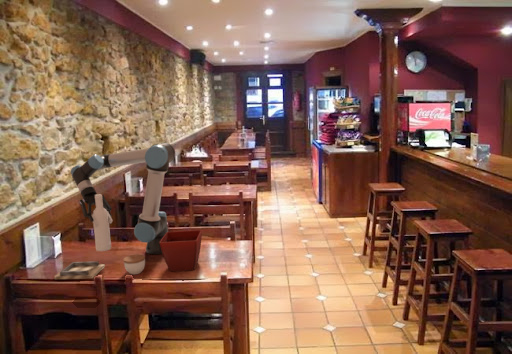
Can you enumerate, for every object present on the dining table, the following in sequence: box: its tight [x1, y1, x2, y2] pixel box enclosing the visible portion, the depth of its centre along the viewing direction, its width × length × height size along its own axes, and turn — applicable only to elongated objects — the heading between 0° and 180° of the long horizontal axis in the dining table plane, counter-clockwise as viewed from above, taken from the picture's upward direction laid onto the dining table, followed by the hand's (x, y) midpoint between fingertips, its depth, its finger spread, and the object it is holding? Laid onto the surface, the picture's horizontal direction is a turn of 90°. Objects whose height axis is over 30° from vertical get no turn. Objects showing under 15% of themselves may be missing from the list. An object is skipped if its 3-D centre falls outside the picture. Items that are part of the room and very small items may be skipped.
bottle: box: [92, 193, 112, 252], centre depth 255 cm, size 8×8×30 cm
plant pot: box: [159, 229, 203, 272], centre depth 249 cm, size 19×19×17 cm
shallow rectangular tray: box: [53, 261, 106, 280], centre depth 250 cm, size 20×16×4 cm
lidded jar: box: [123, 254, 146, 275], centre depth 246 cm, size 11×11×9 cm
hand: (104, 224), depth 253 cm, fingers closed on bottle, 8 cm apart
